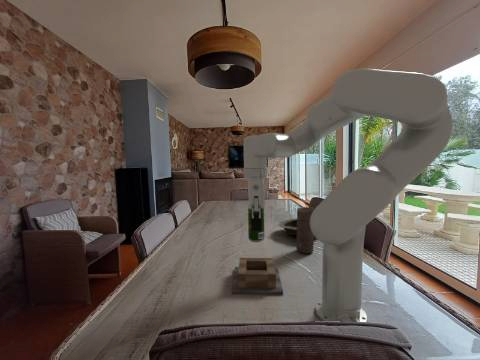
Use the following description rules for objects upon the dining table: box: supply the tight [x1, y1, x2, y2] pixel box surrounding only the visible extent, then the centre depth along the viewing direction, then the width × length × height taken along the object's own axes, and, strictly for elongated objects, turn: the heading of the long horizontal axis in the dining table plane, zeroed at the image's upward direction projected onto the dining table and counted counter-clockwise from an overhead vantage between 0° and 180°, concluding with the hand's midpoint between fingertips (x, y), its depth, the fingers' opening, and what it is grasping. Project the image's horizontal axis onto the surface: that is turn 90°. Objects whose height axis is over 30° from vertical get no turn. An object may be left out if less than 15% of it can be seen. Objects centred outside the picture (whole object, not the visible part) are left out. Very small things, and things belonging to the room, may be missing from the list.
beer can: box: [247, 204, 265, 243], centre depth 78 cm, size 5×5×12 cm
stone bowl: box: [277, 218, 317, 240], centre depth 126 cm, size 25×25×9 cm
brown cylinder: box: [295, 206, 315, 254], centre depth 103 cm, size 8×7×20 cm
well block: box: [231, 257, 284, 296], centre depth 80 cm, size 16×16×6 cm
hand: (256, 226), depth 78 cm, fingers closed on beer can, 5 cm apart
